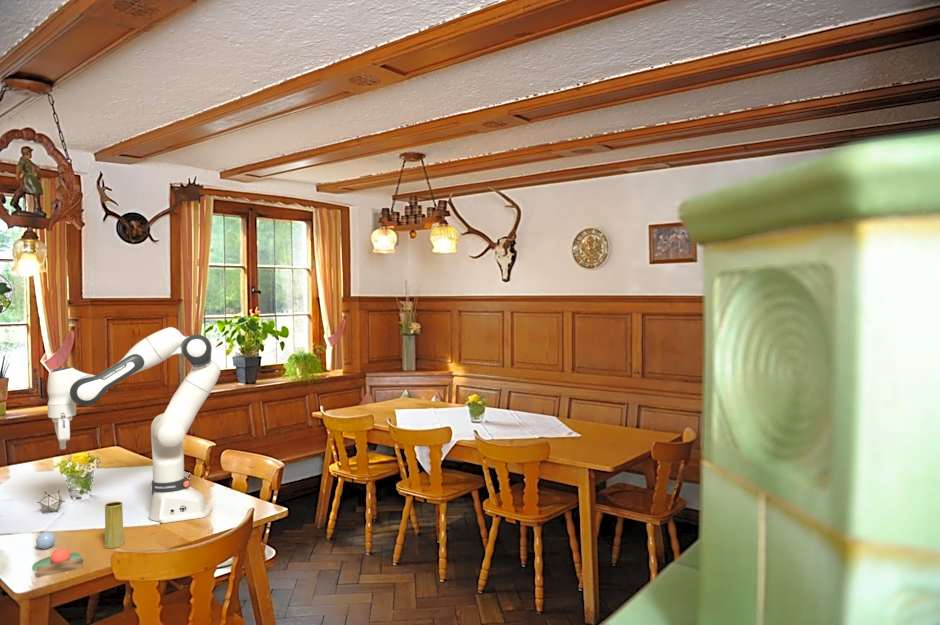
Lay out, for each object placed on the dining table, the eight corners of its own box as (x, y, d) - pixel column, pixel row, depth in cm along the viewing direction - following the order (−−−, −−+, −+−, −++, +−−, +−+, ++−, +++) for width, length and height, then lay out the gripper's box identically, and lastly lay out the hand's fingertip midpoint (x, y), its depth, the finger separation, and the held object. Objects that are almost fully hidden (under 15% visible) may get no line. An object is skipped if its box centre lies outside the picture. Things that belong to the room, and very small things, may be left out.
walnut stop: (82, 565, 203) (82, 557, 203) (83, 567, 202) (82, 559, 202) (36, 575, 196) (36, 566, 196) (37, 577, 195) (36, 569, 195)
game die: (52, 522, 253) (47, 507, 247) (35, 513, 254) (29, 498, 248) (71, 505, 260) (67, 490, 254) (54, 496, 261) (49, 481, 255)
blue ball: (47, 529, 216) (59, 540, 217) (47, 527, 220) (59, 538, 222) (31, 542, 213) (44, 553, 214) (32, 539, 218) (44, 550, 219)
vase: (109, 542, 223) (108, 501, 222) (127, 541, 223) (127, 500, 223) (100, 549, 217) (100, 507, 216) (119, 548, 217) (118, 506, 217)
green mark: (90, 551, 214) (90, 551, 214) (75, 569, 201) (75, 568, 201) (42, 556, 211) (42, 555, 211) (24, 574, 197) (24, 573, 197)
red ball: (73, 564, 205) (72, 547, 207) (67, 562, 200) (66, 544, 202) (54, 570, 203) (53, 553, 205) (47, 568, 198) (46, 550, 201)
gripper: (74, 414, 230) (74, 453, 230) (70, 406, 246) (70, 442, 247) (53, 416, 226) (54, 455, 226) (50, 408, 243) (51, 444, 243)
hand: (62, 448), depth 237 cm, fingers closed
